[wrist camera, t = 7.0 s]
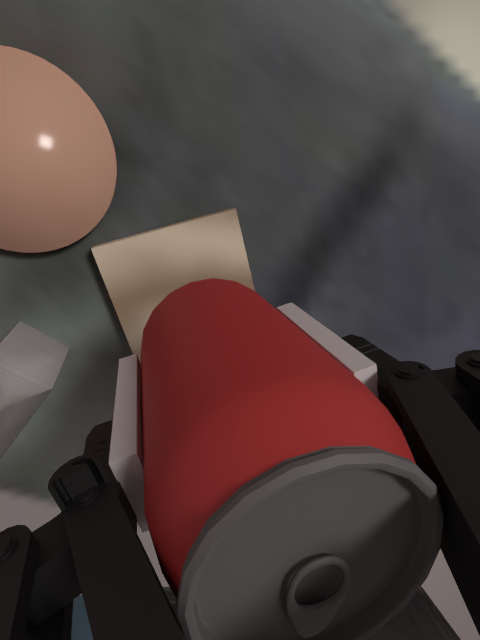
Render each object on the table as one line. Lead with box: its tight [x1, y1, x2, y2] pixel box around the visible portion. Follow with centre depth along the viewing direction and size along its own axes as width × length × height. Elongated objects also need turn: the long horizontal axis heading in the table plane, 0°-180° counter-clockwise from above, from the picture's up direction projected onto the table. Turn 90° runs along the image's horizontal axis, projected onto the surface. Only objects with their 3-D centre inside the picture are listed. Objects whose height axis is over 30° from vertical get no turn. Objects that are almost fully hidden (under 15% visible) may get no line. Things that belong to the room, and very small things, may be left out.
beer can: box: [141, 278, 444, 640], centre depth 12 cm, size 7×7×12 cm
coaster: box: [0, 45, 117, 253], centre depth 22 cm, size 11×11×1 cm
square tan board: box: [91, 208, 255, 363], centre depth 27 cm, size 10×10×1 cm
